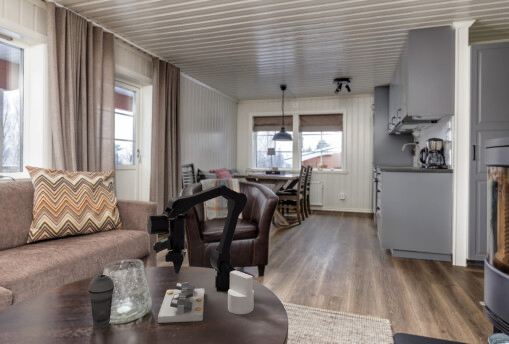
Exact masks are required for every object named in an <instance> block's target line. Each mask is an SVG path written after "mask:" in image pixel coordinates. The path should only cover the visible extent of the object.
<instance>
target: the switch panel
mask: <svg viewBox="0 0 509 344" xmlns="http://www.w3.org/2000/svg"><path fill="white" fill-rule="evenodd" d="M182 283H183V284H187V285H189V282H182ZM185 291H187V288H182V290H177V289H175V288H174V289H166V292H165V295H164V298H163V301H162V304H161V305H160V309H159V312H158V316H157V324H159V323H160V324H162V323H164V324H165V323H182V322H201V321H203V319H204V303H205V288H204V287H201V288H195V289H194V295H193V297H189V298H186V296H180V298H179V300H183V301H188V302H192V303H193V304H192V310H191V311H189V310H184V305H178V306H177V308H175V307H170V304H171V301H172V298H173V296H174V295H175V294H178V293H181V292H185Z"/></svg>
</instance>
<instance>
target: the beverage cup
mask: <svg viewBox="0 0 509 344" xmlns="http://www.w3.org/2000/svg"><path fill="white" fill-rule="evenodd" d="M96 264H97V273H98V274H97V275H96V276H95V277H94V278H92V280H91V281H90V283H89V285H88V295H89V298H90V306H91V307H90V308H91V316H92V318H91V319H92V323H93V328H94V329H97V330H101V329H105V328H107V327H108V326H110V324H109V322H110V321H111V317H110V316H111V315H112V306H113V304H112V302H113V293H114V289H115V285H114V284H115V283H114V281H113V279H112V277H110V276H109V275H107V274H101V269H100V261H99V260H97V263H96Z"/></svg>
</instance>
